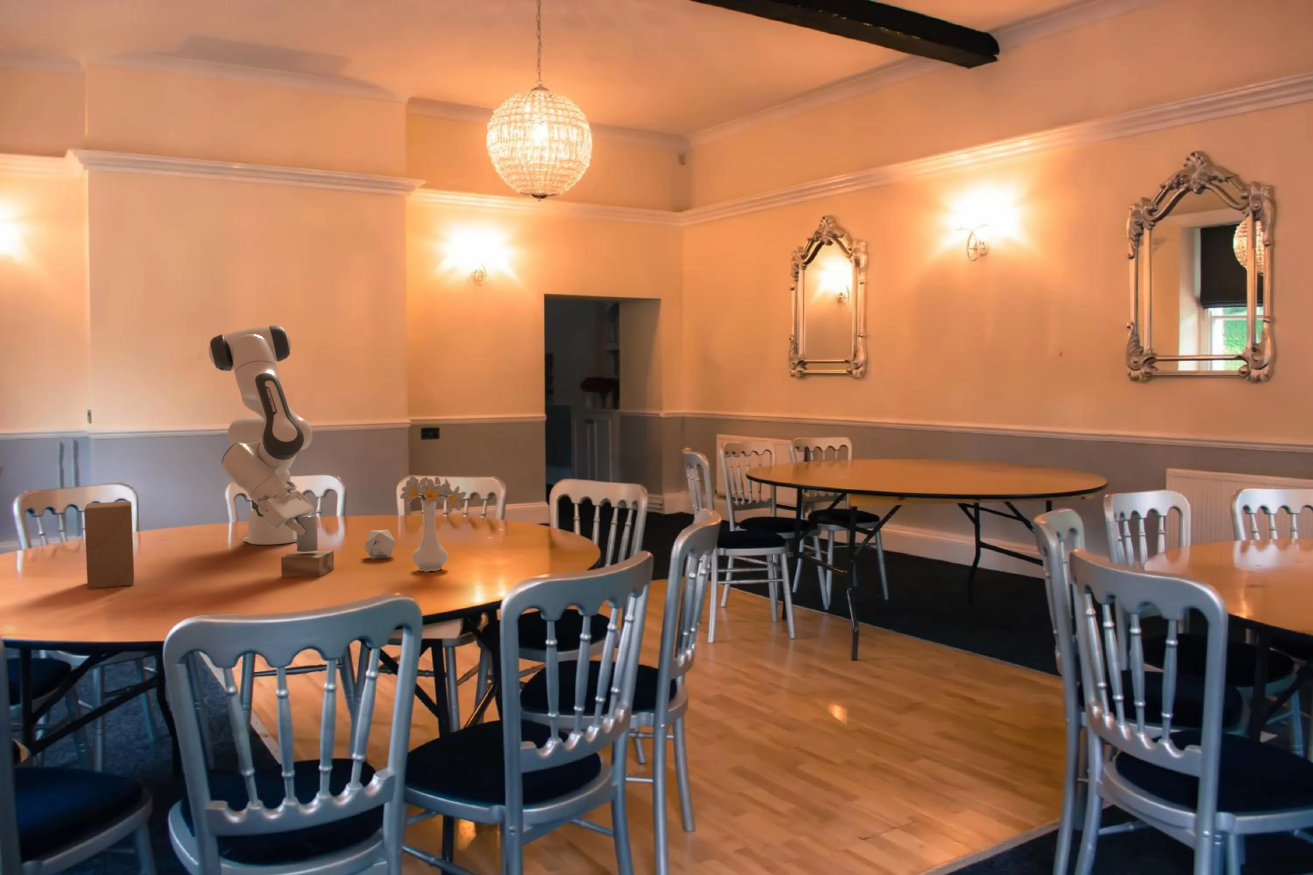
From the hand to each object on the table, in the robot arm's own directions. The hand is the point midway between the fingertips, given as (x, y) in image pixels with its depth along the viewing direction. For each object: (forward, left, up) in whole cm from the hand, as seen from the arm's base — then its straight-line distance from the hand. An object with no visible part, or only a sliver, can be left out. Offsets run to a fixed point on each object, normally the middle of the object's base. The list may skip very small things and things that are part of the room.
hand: (309, 531), depth 258 cm
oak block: (0, -1, -11) cm, 11 cm away
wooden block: (+15, -45, -11) cm, 48 cm away
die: (-22, +11, -11) cm, 27 cm away
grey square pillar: (0, -1, -5) cm, 5 cm away
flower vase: (-5, +31, -11) cm, 34 cm away
